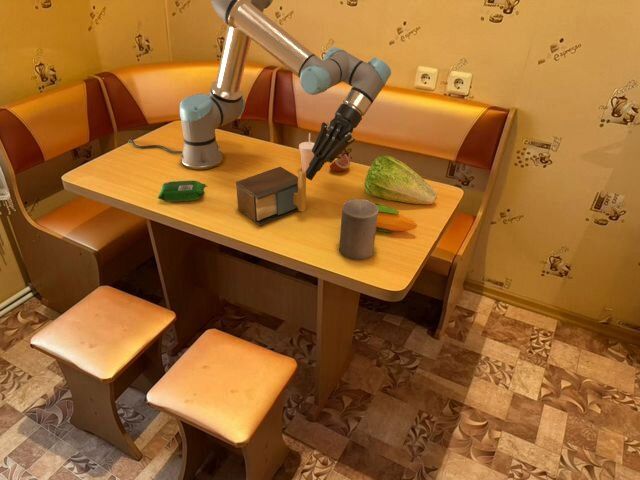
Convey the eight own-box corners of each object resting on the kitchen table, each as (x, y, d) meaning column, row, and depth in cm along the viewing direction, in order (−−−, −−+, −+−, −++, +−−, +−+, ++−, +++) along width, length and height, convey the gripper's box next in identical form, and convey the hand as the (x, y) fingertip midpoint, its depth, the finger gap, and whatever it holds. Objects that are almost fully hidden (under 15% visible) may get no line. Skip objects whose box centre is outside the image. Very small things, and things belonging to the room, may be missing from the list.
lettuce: (434, 204, 147) (450, 166, 151) (361, 178, 153) (378, 141, 156) (425, 224, 160) (440, 188, 164) (358, 200, 166) (375, 165, 170)
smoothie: (316, 174, 176) (317, 137, 168) (298, 174, 177) (298, 137, 168) (316, 166, 181) (317, 129, 173) (298, 166, 182) (298, 129, 173)
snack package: (206, 202, 162) (204, 188, 159) (158, 204, 162) (155, 190, 158) (207, 192, 168) (206, 178, 165) (161, 194, 167) (158, 180, 164)
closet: (238, 209, 158) (235, 181, 152) (280, 193, 166) (280, 166, 160) (259, 226, 150) (258, 197, 144) (303, 208, 158) (304, 180, 152)
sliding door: (276, 214, 154) (275, 173, 145) (297, 206, 157) (297, 165, 149) (286, 221, 150) (285, 179, 142) (307, 212, 154) (308, 171, 146)
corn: (355, 194, 149) (422, 206, 143) (353, 215, 154) (418, 228, 148) (347, 207, 144) (416, 221, 138) (346, 228, 149) (413, 242, 143)
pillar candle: (335, 256, 138) (338, 209, 128) (344, 237, 145) (347, 192, 136) (369, 263, 135) (375, 216, 126) (377, 243, 142) (382, 197, 133)
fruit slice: (337, 163, 183) (338, 151, 180) (353, 168, 180) (354, 155, 177) (325, 172, 178) (326, 159, 175) (342, 177, 175) (342, 164, 171)
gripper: (373, 123, 144) (327, 191, 147) (343, 110, 152) (300, 175, 155) (362, 109, 138) (314, 180, 141) (331, 97, 147) (287, 164, 149)
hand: (307, 177), depth 148 cm, fingers closed
